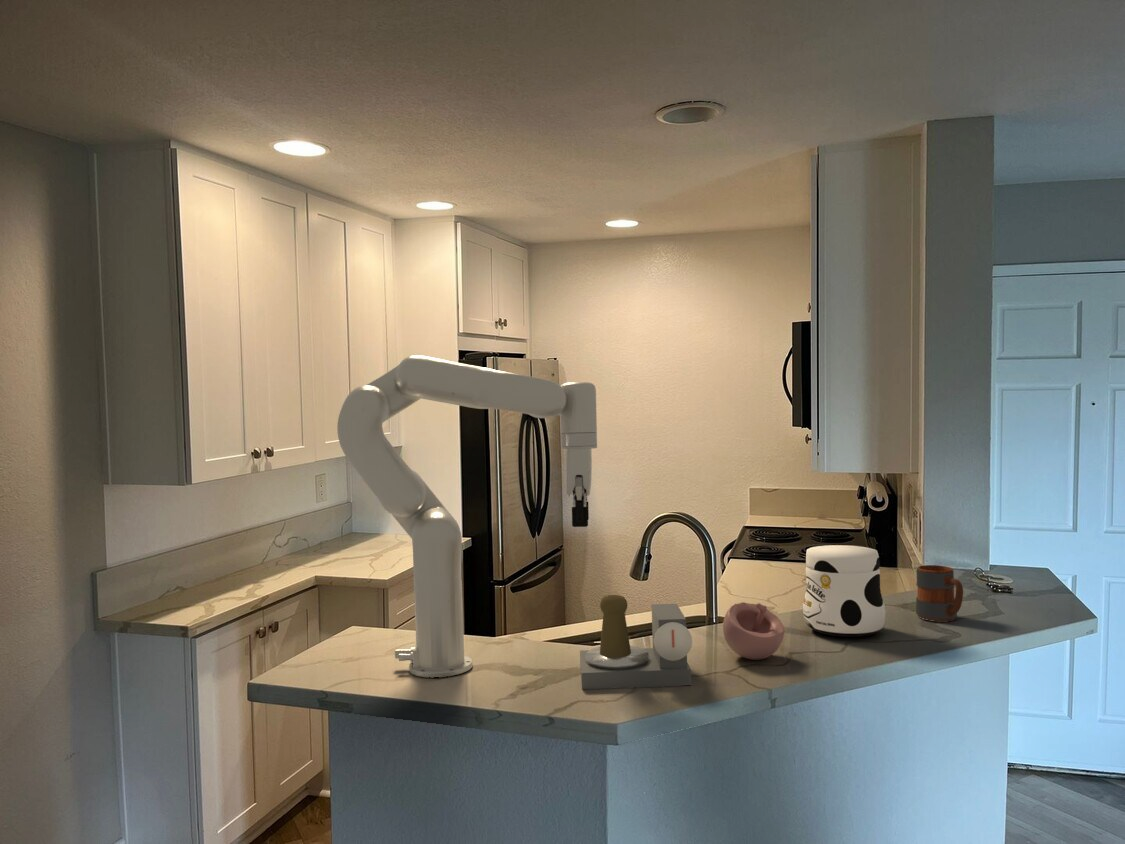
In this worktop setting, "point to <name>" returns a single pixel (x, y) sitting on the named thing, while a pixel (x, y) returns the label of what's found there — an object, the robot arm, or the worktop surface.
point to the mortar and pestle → (752, 630)
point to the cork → (614, 627)
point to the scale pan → (617, 659)
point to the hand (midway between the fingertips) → (580, 523)
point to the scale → (650, 657)
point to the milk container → (843, 591)
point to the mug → (938, 593)
